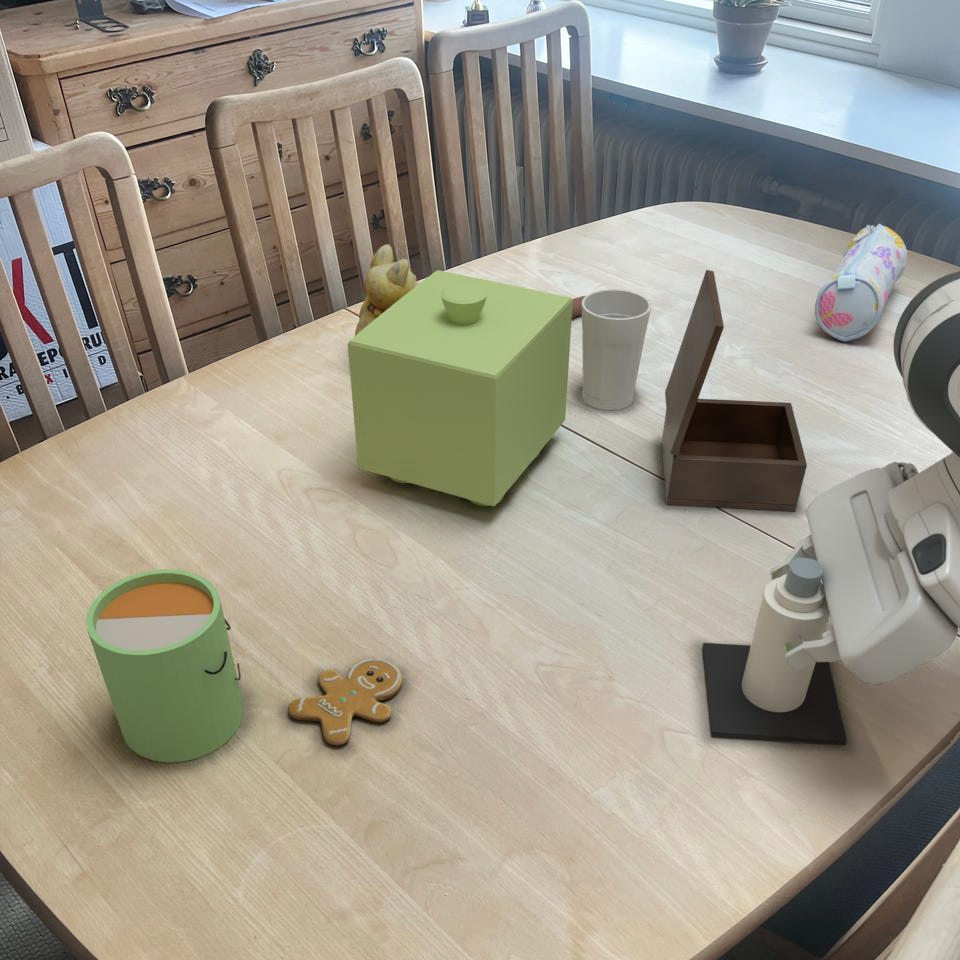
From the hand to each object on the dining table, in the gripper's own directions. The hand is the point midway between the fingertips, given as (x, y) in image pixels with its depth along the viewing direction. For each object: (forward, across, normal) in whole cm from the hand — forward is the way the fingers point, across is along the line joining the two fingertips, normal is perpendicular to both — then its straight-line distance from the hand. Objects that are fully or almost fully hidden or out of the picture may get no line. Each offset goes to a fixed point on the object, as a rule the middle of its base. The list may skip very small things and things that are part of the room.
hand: (781, 619), depth 85 cm
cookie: (+31, +4, -19) cm, 37 cm away
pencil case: (-8, -76, +21) cm, 79 cm away
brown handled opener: (+23, -67, -11) cm, 72 cm away
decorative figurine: (+35, -55, -23) cm, 69 cm away
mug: (+41, +6, -29) cm, 50 cm away
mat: (+6, 0, +6) cm, 9 cm away
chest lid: (+1, -34, -7) cm, 35 cm away
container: (+27, -34, -15) cm, 46 cm away
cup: (+16, -50, -3) cm, 52 cm away
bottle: (+5, 0, +6) cm, 8 cm away
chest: (+6, -34, +6) cm, 35 cm away
